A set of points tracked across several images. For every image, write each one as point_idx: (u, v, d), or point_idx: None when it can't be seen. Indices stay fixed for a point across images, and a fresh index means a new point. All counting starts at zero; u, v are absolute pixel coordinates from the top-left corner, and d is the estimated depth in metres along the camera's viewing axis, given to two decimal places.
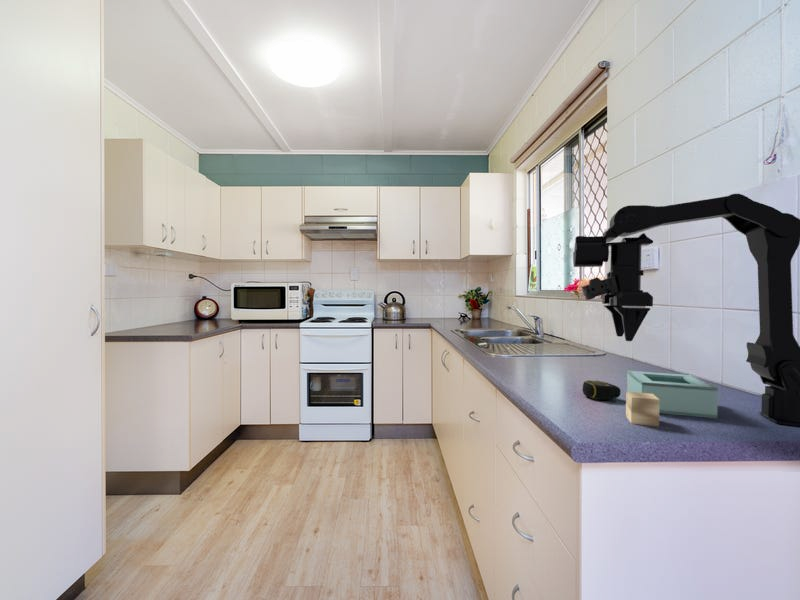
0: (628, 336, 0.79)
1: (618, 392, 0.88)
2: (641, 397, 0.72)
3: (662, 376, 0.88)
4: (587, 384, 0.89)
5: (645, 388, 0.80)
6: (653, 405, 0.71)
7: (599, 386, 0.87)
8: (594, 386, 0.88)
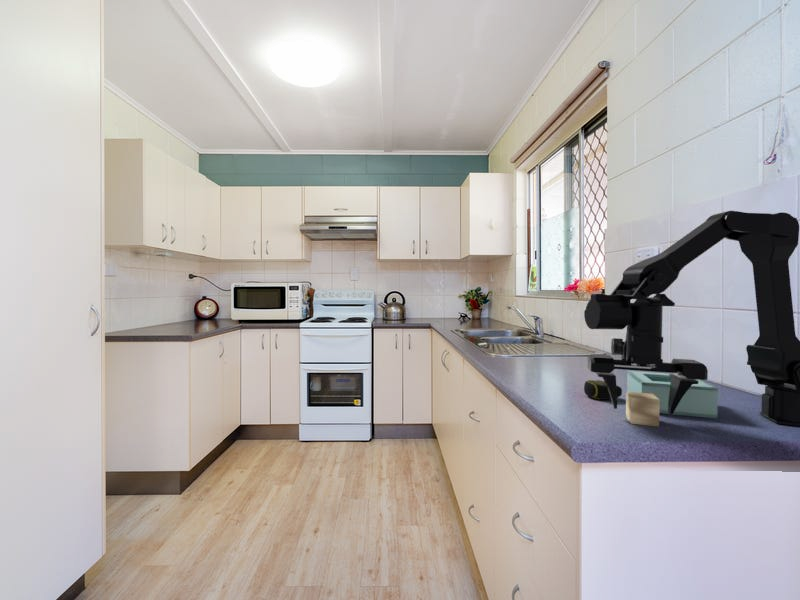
0: (612, 403, 0.76)
1: (619, 392, 0.88)
2: (641, 397, 0.72)
3: (662, 376, 0.88)
4: (588, 384, 0.90)
5: (645, 388, 0.80)
6: (653, 405, 0.71)
7: (600, 386, 0.88)
8: (596, 386, 0.88)
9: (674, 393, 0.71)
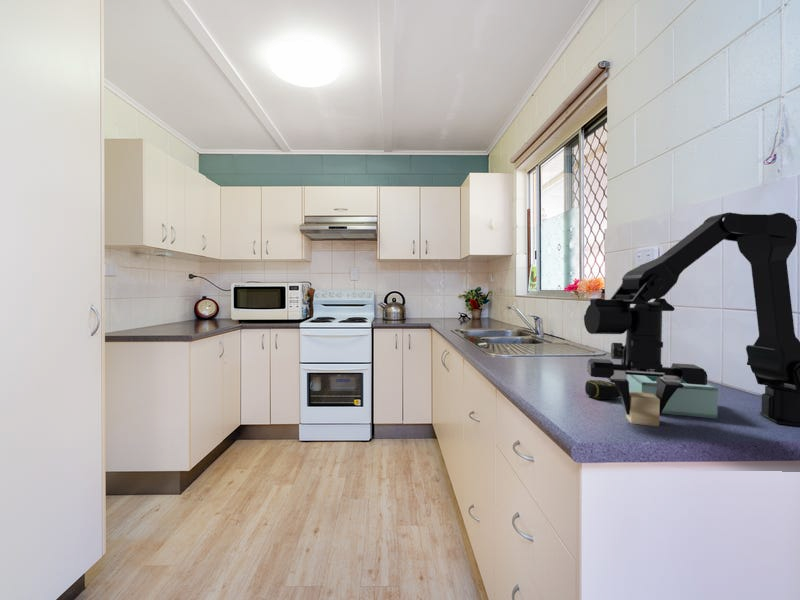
0: (624, 408, 0.75)
1: None
2: (641, 397, 0.72)
3: None
4: (590, 384, 0.90)
5: (645, 388, 0.80)
6: (654, 405, 0.71)
7: (602, 386, 0.88)
8: (597, 385, 0.88)
9: (660, 397, 0.72)
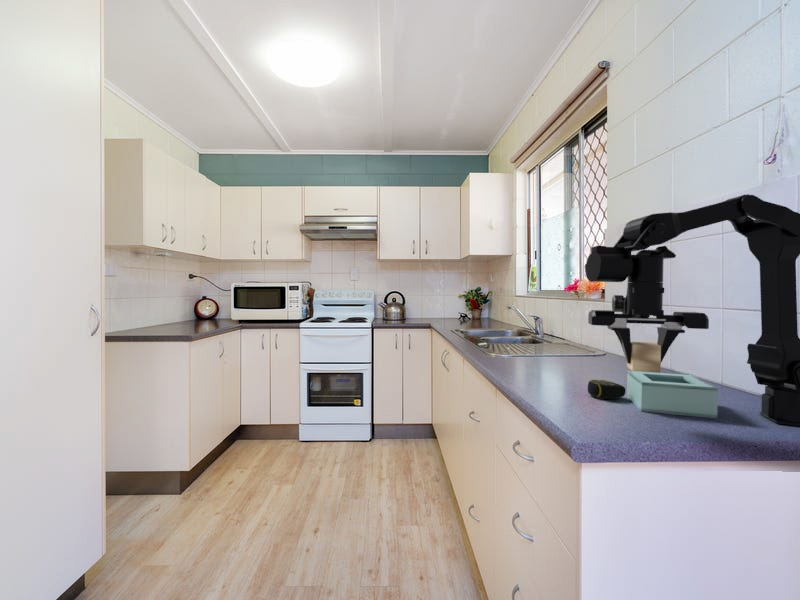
0: (626, 358, 0.75)
1: (623, 391, 0.88)
2: (642, 344, 0.72)
3: (662, 376, 0.88)
4: (592, 383, 0.90)
5: (645, 388, 0.80)
6: (655, 351, 0.71)
7: (604, 385, 0.88)
8: (599, 385, 0.89)
9: (661, 343, 0.72)
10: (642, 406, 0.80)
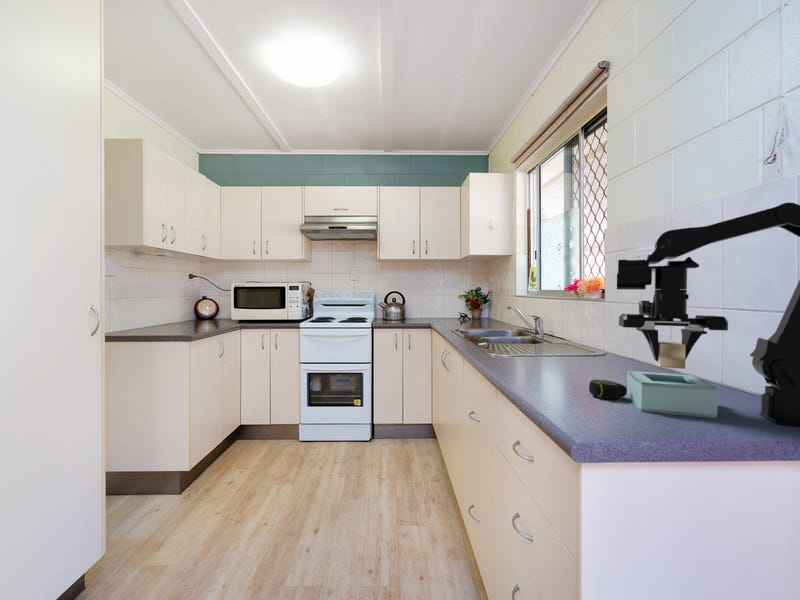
0: (653, 356, 0.85)
1: (624, 391, 0.89)
2: (669, 344, 0.82)
3: (662, 376, 0.88)
4: (594, 383, 0.90)
5: (645, 388, 0.80)
6: (680, 350, 0.81)
7: (606, 385, 0.88)
8: (601, 385, 0.89)
9: (686, 343, 0.82)
10: (642, 406, 0.80)
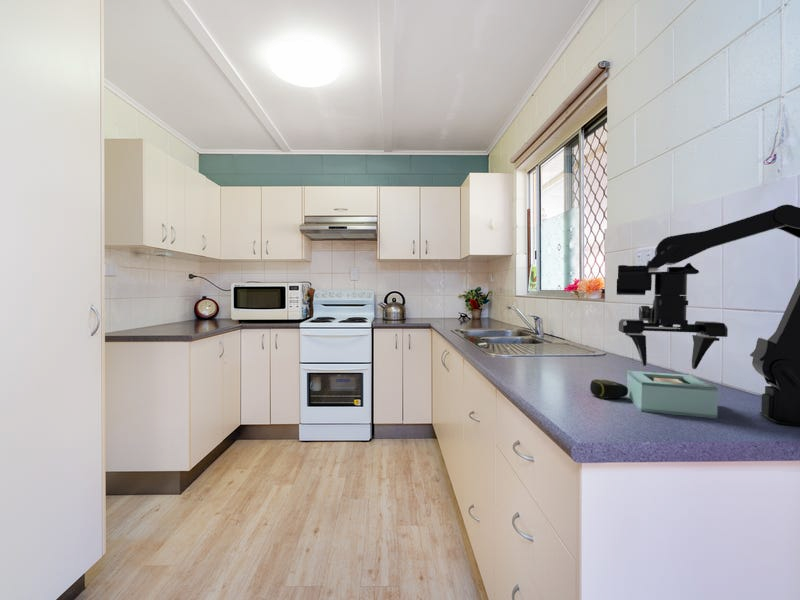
0: None
1: (626, 391, 0.89)
2: (668, 381, 0.83)
3: (662, 376, 0.88)
4: (595, 383, 0.91)
5: (645, 388, 0.80)
6: None
7: (607, 385, 0.89)
8: (602, 385, 0.89)
9: (697, 350, 0.81)
10: (642, 406, 0.80)
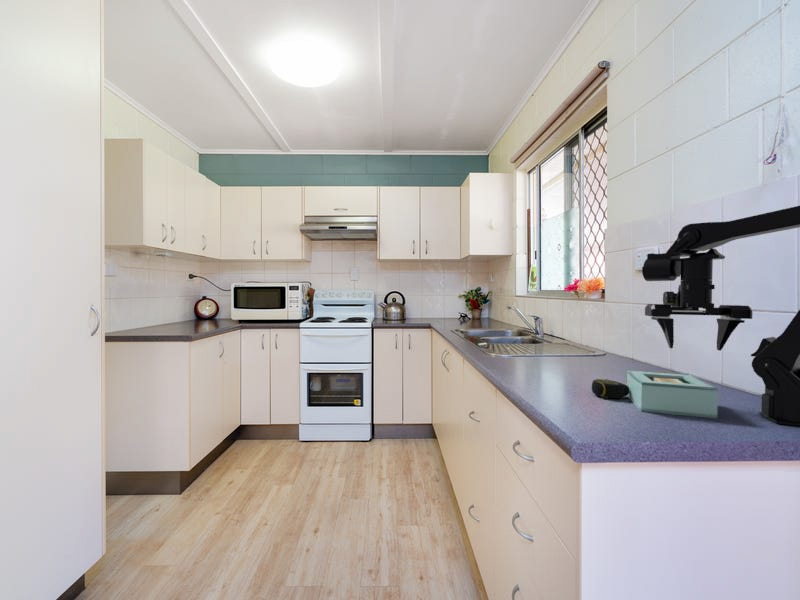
0: (668, 343, 0.89)
1: (627, 390, 0.89)
2: (668, 381, 0.83)
3: (662, 376, 0.88)
4: (596, 383, 0.91)
5: (645, 388, 0.80)
6: None
7: (608, 385, 0.89)
8: (603, 384, 0.89)
9: (723, 332, 0.85)
10: (642, 406, 0.80)
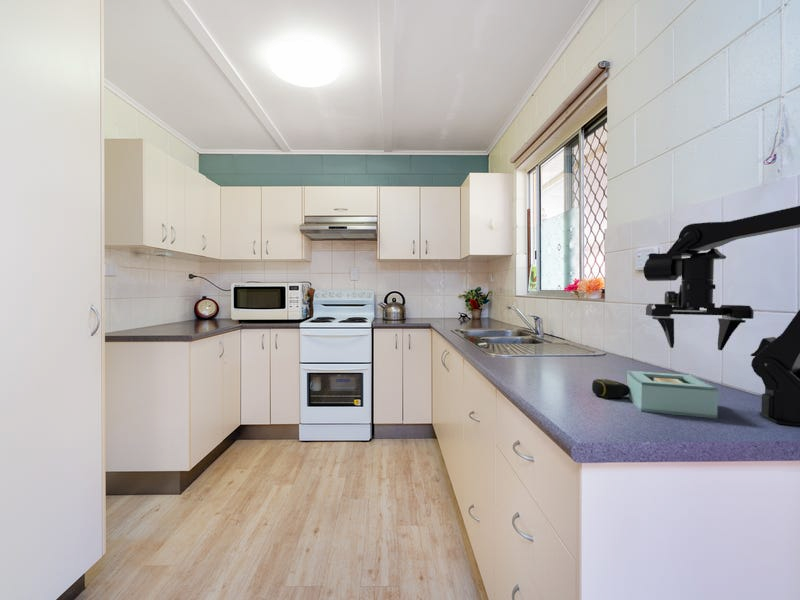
0: (669, 343, 0.89)
1: (627, 390, 0.89)
2: (668, 381, 0.83)
3: (662, 376, 0.88)
4: (596, 382, 0.91)
5: (645, 388, 0.80)
6: None
7: (608, 384, 0.89)
8: (604, 384, 0.90)
9: (724, 332, 0.85)
10: (642, 406, 0.80)
